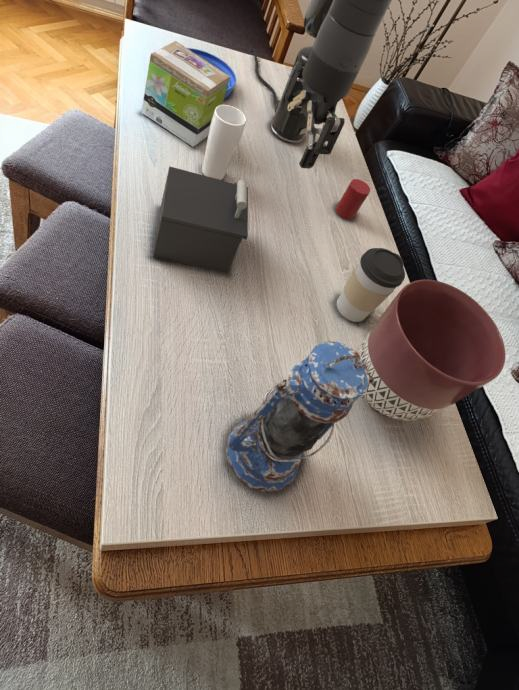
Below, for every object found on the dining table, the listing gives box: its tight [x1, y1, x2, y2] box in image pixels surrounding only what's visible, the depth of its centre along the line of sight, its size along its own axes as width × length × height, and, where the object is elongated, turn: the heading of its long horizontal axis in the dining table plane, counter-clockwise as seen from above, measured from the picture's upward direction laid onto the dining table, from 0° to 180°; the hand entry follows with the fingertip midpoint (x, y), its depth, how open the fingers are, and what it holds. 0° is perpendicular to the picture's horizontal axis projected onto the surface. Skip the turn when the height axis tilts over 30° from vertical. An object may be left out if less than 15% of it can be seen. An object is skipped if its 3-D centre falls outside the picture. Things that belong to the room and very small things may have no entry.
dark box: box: [152, 169, 243, 274], centre depth 96 cm, size 15×14×10 cm
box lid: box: [162, 165, 249, 240], centre depth 91 cm, size 15×14×5 cm
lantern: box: [225, 340, 374, 493], centre depth 68 cm, size 15×12×30 cm
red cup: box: [335, 178, 371, 221], centre depth 118 cm, size 5×5×8 cm
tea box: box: [141, 40, 230, 148], centre depth 113 cm, size 15×10×15 cm, turn 62°
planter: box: [357, 279, 506, 422], centre depth 86 cm, size 20×20×21 cm
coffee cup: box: [336, 247, 406, 323], centre depth 98 cm, size 9×9×15 cm
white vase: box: [201, 104, 247, 180], centre depth 107 cm, size 7×7×15 cm
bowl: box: [186, 47, 237, 100], centre depth 131 cm, size 18×18×4 cm
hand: (295, 149), depth 84 cm, fingers open, 8 cm apart
